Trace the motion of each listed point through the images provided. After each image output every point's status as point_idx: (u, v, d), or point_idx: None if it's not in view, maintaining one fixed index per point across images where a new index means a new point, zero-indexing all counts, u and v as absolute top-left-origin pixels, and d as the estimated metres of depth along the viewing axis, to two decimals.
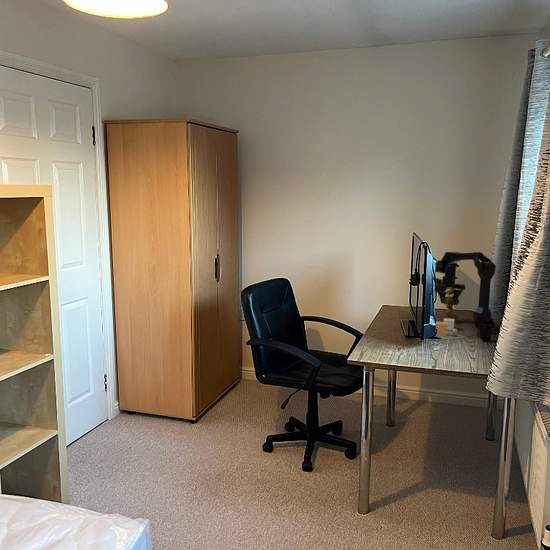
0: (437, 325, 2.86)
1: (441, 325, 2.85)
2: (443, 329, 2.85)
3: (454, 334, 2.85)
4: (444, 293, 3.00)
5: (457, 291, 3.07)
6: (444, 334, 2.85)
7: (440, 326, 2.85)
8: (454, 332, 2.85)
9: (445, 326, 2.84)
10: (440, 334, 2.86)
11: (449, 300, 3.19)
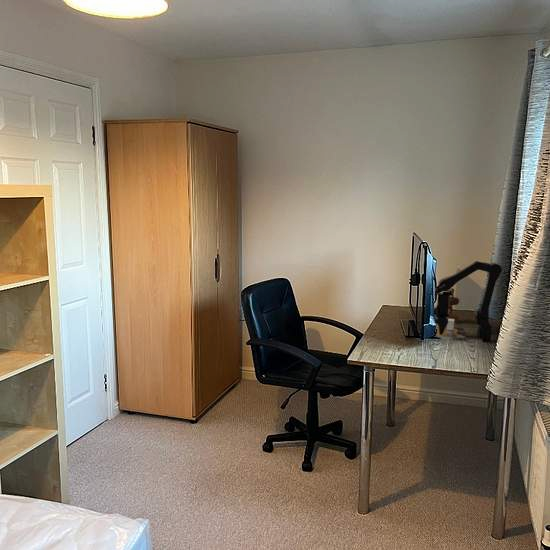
0: (437, 325, 2.86)
1: None
2: None
3: (454, 334, 2.85)
4: None
5: None
6: (444, 334, 2.85)
7: None
8: (454, 332, 2.85)
9: None
10: None
11: (449, 300, 3.19)
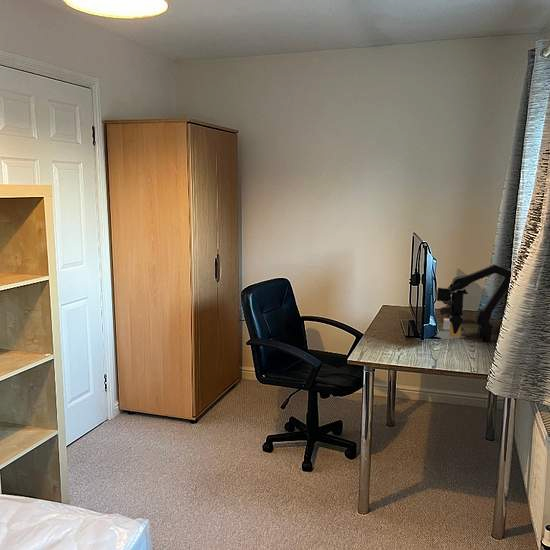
0: (451, 326, 2.84)
1: None
2: None
3: None
4: None
5: None
6: (458, 335, 2.83)
7: None
8: None
9: (459, 327, 2.82)
10: (454, 335, 2.84)
11: (449, 300, 3.19)
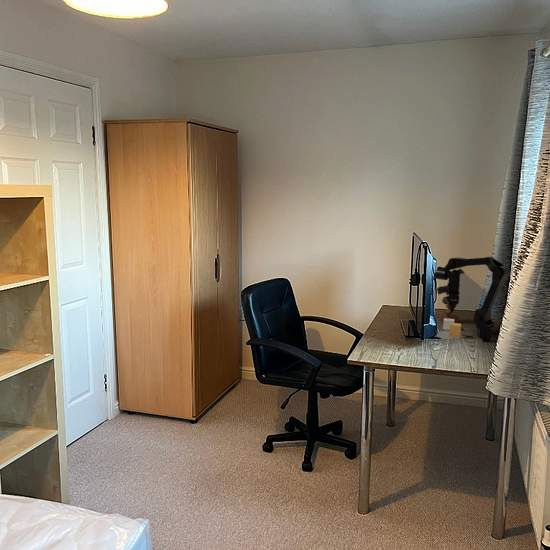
0: (451, 326, 2.84)
1: (455, 326, 2.83)
2: (457, 330, 2.83)
3: None
4: None
5: None
6: (458, 335, 2.83)
7: (454, 327, 2.83)
8: None
9: (459, 327, 2.82)
10: (454, 335, 2.84)
11: None
